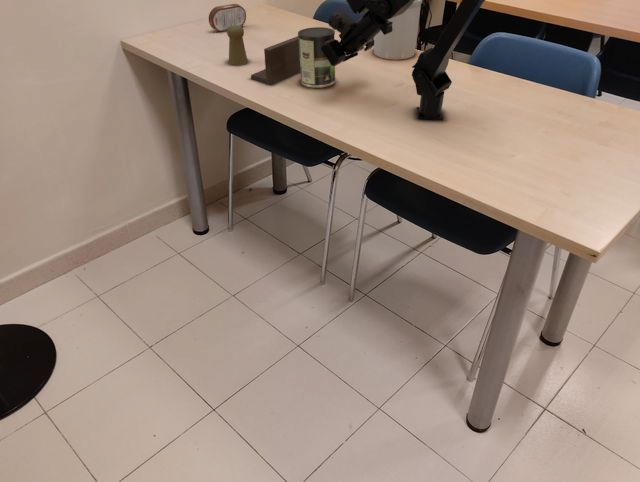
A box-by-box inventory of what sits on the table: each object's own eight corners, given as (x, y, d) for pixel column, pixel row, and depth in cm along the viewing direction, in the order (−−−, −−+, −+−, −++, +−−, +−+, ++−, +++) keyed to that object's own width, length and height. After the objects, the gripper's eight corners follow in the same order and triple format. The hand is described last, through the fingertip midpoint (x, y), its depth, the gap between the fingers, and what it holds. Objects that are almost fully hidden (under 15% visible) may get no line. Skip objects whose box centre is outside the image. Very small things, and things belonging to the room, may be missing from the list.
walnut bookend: (313, 66, 159) (313, 33, 152) (271, 85, 146) (269, 50, 140) (293, 60, 162) (292, 28, 156) (251, 78, 150) (248, 44, 143)
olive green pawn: (224, 63, 160) (220, 27, 153) (236, 57, 164) (232, 22, 157) (240, 66, 158) (237, 30, 151) (251, 60, 162) (248, 25, 155)
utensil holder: (368, 58, 164) (371, 0, 154) (375, 44, 176) (379, -10, 165) (413, 62, 162) (420, 4, 151) (417, 48, 173) (424, -8, 162)
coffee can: (338, 76, 151) (338, 27, 142) (331, 88, 143) (330, 37, 134) (305, 75, 153) (303, 26, 144) (296, 87, 145) (293, 36, 136)
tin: (243, 24, 194) (241, 1, 188) (248, 26, 192) (246, 3, 186) (209, 32, 186) (206, 7, 181) (213, 34, 184) (210, 9, 179)
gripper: (368, -5, 135) (333, 30, 147) (327, 9, 123) (293, 46, 135) (390, 31, 136) (354, 63, 148) (352, 48, 124) (316, 81, 136)
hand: (330, 62), depth 142 cm, fingers closed, pressing on coffee can
